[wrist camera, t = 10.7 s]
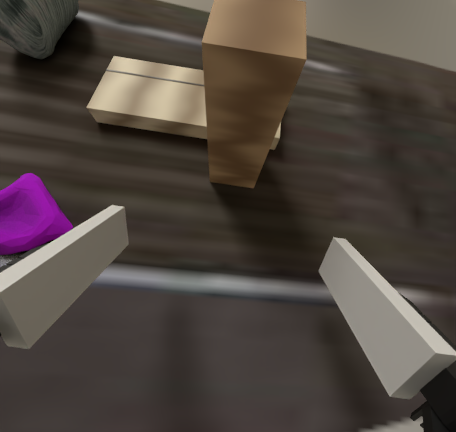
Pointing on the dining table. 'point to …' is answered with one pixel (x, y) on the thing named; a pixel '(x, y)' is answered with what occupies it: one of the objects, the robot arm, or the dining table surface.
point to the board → (153, 98)
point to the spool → (35, 24)
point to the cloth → (29, 216)
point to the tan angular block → (249, 81)
